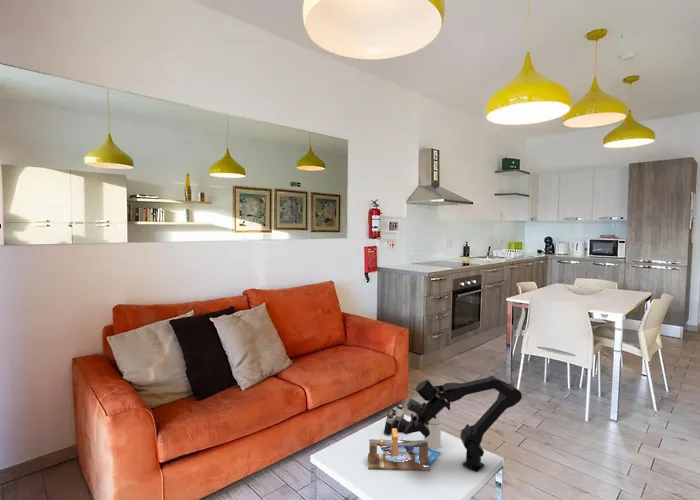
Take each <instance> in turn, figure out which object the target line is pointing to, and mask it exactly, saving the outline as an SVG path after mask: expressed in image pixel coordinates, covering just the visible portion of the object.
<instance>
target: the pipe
mask: <svg viewBox="0 0 700 500" xmlns="http://www.w3.org/2000/svg"><path fill="white" fill-rule="evenodd" d="M370 444H377V447H378V446H379V447H392V446H393V440H392V439H384V438H383V439H377V440H370ZM420 445H427V446H428V442H427V441H425V440H405V439H404V440H399V439H398V447H409V448H410V447H411V448H412V447H417V448H419V447H420Z"/></svg>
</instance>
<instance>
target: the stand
mask: <svg viewBox="0 0 700 500" xmlns="http://www.w3.org/2000/svg"><path fill="white" fill-rule="evenodd" d="M370 440H378V439H375V438H374V439H370V438H369V439H368V441H369V444H368V445H369V450H368V451H369V453H367V461H368V462H367V464H368V465H367V467H368V468H367V470H370V471H371V470H372V471H374V470H375V471H398V472H399V471H400V472H401V471H404V472H408V471H409V472H431V467H430V465H429V467H424V466H423V465H428V462H429V447H428V446H427V445H420V447H418V451H419V452H418V455H419V460H420V464H419V463H417V462H415V455H416V454H411V456H412V458H413V459H411V460H408V461H404V462H402V461H401V462H393V461H389V460H387V459H386V457H385V454H386V453H381V452H379V453H378V446H377V444H370Z"/></svg>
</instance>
